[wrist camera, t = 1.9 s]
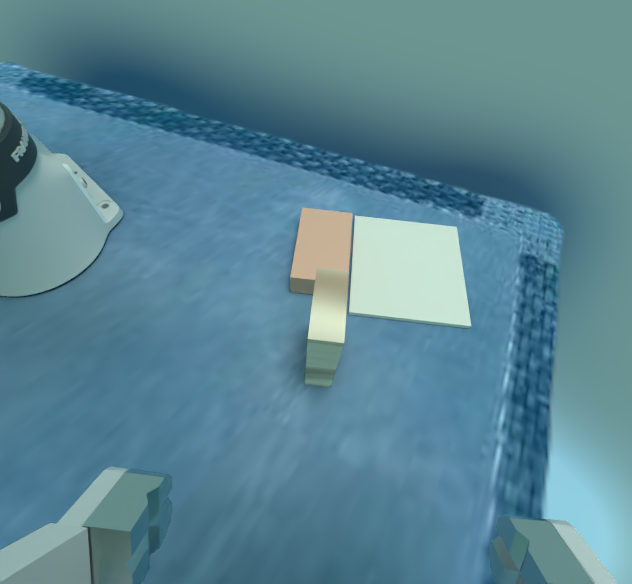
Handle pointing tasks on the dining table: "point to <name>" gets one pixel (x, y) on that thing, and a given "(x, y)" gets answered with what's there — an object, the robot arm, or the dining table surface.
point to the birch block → (326, 326)
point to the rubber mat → (407, 273)
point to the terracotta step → (320, 246)
